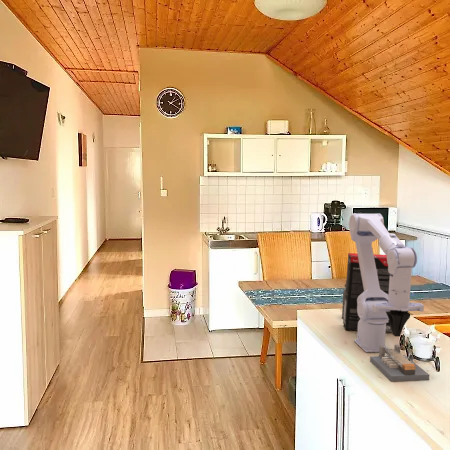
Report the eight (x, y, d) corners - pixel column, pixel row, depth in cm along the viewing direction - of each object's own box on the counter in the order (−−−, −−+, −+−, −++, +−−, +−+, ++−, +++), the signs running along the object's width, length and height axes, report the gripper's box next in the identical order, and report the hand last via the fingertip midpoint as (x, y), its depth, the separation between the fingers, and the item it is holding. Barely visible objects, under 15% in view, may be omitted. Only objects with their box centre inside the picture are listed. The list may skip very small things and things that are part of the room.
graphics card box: (390, 327, 167) (395, 253, 163) (395, 334, 160) (401, 257, 156) (342, 324, 168) (346, 251, 165) (345, 331, 162) (349, 255, 158)
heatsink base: (369, 361, 137) (371, 345, 136) (404, 359, 139) (405, 344, 138) (391, 381, 124) (392, 363, 124) (429, 379, 126) (430, 362, 125)
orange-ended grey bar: (384, 351, 137) (384, 348, 137) (393, 351, 137) (393, 348, 137) (404, 369, 125) (405, 366, 125) (415, 369, 125) (415, 366, 125)
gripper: (381, 293, 126) (378, 341, 128) (431, 293, 128) (427, 339, 130) (370, 287, 133) (367, 332, 135) (417, 286, 135) (414, 330, 137)
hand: (396, 335), depth 133 cm, fingers closed
